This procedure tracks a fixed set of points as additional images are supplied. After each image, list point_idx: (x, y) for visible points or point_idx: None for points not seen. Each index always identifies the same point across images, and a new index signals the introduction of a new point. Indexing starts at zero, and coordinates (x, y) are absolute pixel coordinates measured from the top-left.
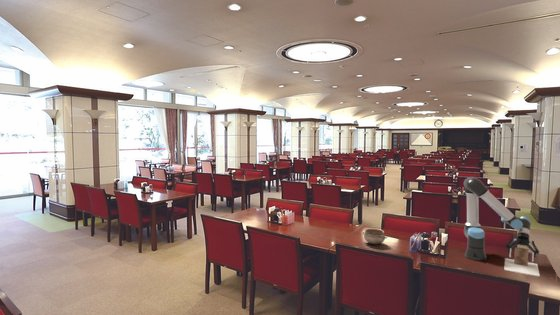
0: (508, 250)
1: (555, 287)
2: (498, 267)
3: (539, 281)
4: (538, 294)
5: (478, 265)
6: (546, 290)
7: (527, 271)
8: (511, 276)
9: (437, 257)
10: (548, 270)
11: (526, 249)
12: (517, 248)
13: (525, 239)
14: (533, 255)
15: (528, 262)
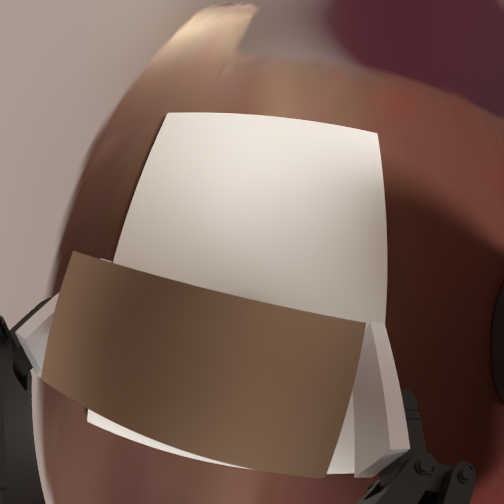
0: (413, 410)
1: (155, 55)
2: (413, 180)
3: (197, 71)
4: (245, 5)
5: (491, 172)
6: (206, 25)
7: (220, 157)
8: (328, 73)
9: None
10: None
11: (74, 339)
12: (290, 335)
13: None
14: (56, 296)
15: (149, 444)
